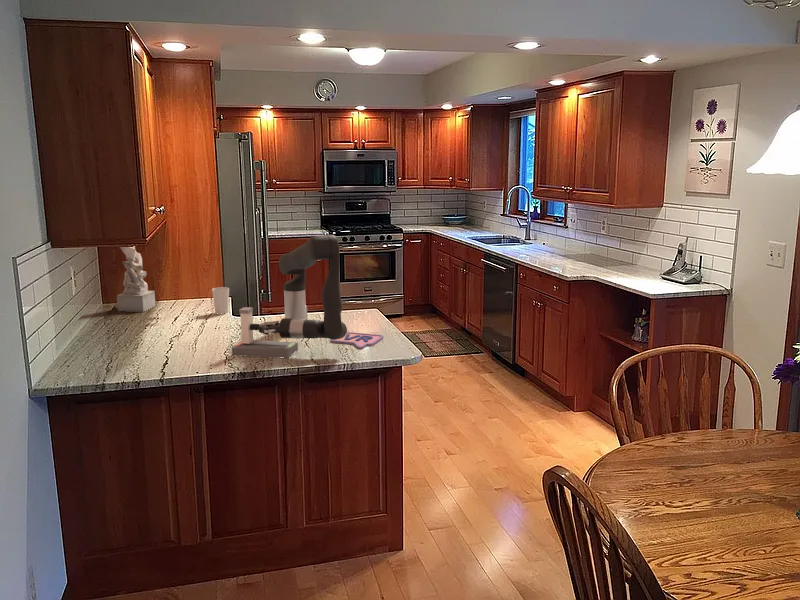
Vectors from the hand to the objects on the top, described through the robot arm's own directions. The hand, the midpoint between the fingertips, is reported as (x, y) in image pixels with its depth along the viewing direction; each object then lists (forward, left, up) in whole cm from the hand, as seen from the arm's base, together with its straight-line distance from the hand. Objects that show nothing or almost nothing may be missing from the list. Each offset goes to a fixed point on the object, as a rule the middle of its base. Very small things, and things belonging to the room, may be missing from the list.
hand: (250, 326), depth 256 cm
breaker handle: (+1, -1, -6) cm, 6 cm away
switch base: (-2, +5, -10) cm, 11 cm away
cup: (-43, -60, -10) cm, 74 cm away
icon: (-33, +25, -11) cm, 43 cm away
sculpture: (-28, -103, -10) cm, 107 cm away
